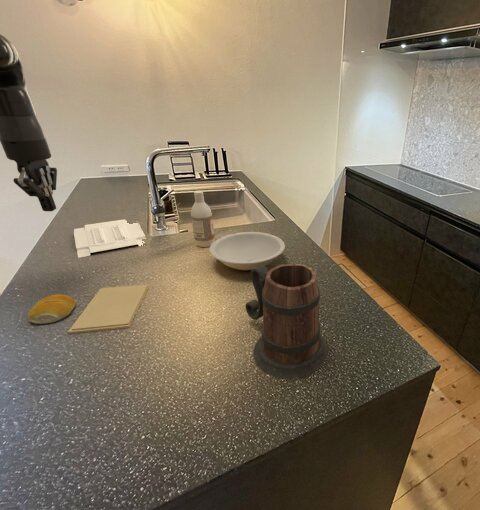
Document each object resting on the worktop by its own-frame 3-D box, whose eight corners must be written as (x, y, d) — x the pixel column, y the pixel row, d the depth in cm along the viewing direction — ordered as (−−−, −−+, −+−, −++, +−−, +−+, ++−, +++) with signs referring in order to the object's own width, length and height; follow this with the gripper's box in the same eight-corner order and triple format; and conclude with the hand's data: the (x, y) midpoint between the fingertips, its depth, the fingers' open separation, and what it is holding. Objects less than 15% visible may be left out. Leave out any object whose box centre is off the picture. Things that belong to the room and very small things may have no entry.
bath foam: (213, 247, 112) (207, 194, 103) (193, 247, 111) (185, 194, 102) (216, 239, 119) (210, 189, 109) (197, 239, 117) (190, 188, 108)
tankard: (342, 347, 72) (349, 274, 63) (290, 393, 60) (290, 311, 51) (275, 305, 84) (273, 240, 75) (220, 336, 72) (210, 263, 63)
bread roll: (80, 300, 80) (76, 287, 78) (67, 321, 73) (62, 308, 71) (40, 305, 77) (35, 291, 76) (22, 327, 70) (16, 313, 68)
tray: (78, 258, 99) (74, 247, 97) (74, 231, 118) (70, 222, 116) (150, 244, 111) (147, 235, 109) (135, 222, 130) (133, 214, 128)
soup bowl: (267, 243, 119) (266, 227, 116) (297, 270, 103) (297, 252, 100) (202, 256, 106) (200, 239, 103) (225, 289, 89) (223, 270, 86)
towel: (68, 334, 69) (67, 330, 69) (100, 290, 85) (99, 287, 84) (128, 327, 72) (128, 324, 72) (149, 286, 88) (148, 283, 87)
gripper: (20, 132, 73) (46, 202, 81) (-21, 140, 62) (14, 220, 70) (58, 134, 75) (80, 202, 83) (25, 141, 64) (54, 219, 72)
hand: (50, 210), depth 76 cm, fingers closed
